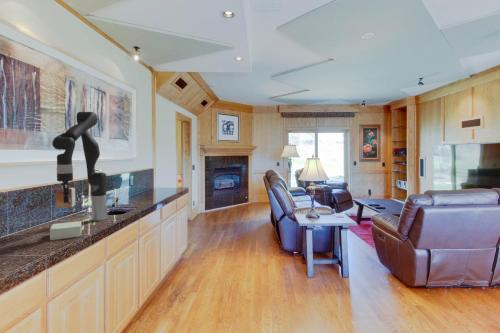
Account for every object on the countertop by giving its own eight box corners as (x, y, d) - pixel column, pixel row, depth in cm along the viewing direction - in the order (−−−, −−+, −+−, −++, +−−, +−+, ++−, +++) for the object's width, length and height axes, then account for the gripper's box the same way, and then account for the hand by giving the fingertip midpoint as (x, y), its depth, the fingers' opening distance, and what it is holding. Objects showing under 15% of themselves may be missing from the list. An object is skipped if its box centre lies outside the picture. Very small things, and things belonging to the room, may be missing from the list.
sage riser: (81, 230, 165) (81, 221, 164) (80, 236, 153) (80, 226, 152) (53, 234, 158) (52, 224, 157) (50, 240, 145) (49, 229, 145)
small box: (55, 208, 151) (55, 189, 150) (59, 206, 156) (59, 187, 156) (72, 207, 153) (71, 188, 152) (75, 205, 158) (75, 187, 158)
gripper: (73, 172, 150) (74, 202, 151) (71, 171, 162) (72, 199, 162) (57, 173, 146) (58, 204, 146) (56, 172, 157) (57, 200, 158)
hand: (65, 201), depth 154 cm, fingers closed on small box, 7 cm apart
